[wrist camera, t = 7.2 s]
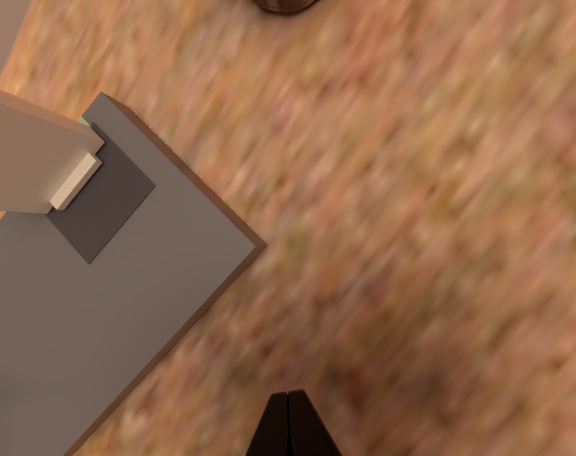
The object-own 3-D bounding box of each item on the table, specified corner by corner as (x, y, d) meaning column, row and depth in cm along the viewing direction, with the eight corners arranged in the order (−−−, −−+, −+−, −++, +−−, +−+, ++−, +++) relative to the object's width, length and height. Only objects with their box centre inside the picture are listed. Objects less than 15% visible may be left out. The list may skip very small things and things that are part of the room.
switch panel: (267, 245, 21) (249, 247, 17) (29, 501, 24) (-29, 548, 20) (127, 106, 23) (85, 82, 20) (-74, 358, 26) (-143, 377, 23)
